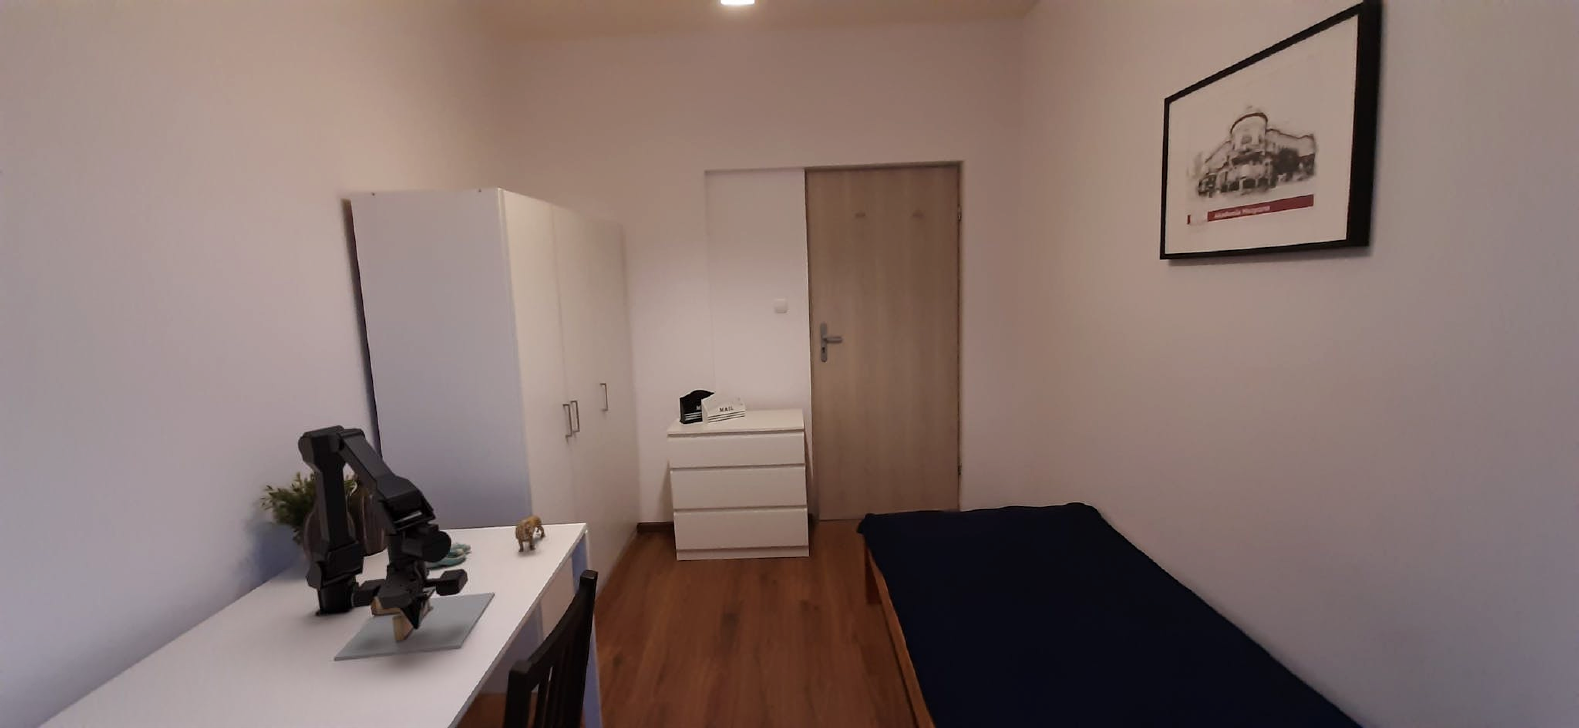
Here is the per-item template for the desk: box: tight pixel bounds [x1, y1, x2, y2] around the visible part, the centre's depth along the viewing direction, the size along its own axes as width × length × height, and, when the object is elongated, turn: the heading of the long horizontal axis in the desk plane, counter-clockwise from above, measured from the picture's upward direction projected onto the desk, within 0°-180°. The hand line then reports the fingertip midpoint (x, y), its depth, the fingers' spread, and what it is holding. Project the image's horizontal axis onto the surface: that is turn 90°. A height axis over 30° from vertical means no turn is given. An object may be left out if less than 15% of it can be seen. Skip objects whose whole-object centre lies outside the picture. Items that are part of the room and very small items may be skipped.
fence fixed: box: [369, 596, 402, 616], centre depth 131 cm, size 10×2×4 cm, turn 97°
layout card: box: [333, 592, 496, 661], centre depth 128 cm, size 22×20×1 cm
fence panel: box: [392, 600, 430, 642], centre depth 127 cm, size 13×2×4 cm, turn 6°
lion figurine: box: [514, 515, 546, 553], centre depth 164 cm, size 15×5×9 cm, turn 12°
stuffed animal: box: [425, 541, 472, 569], centre depth 157 cm, size 11×7×12 cm
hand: (417, 628), depth 123 cm, fingers closed
